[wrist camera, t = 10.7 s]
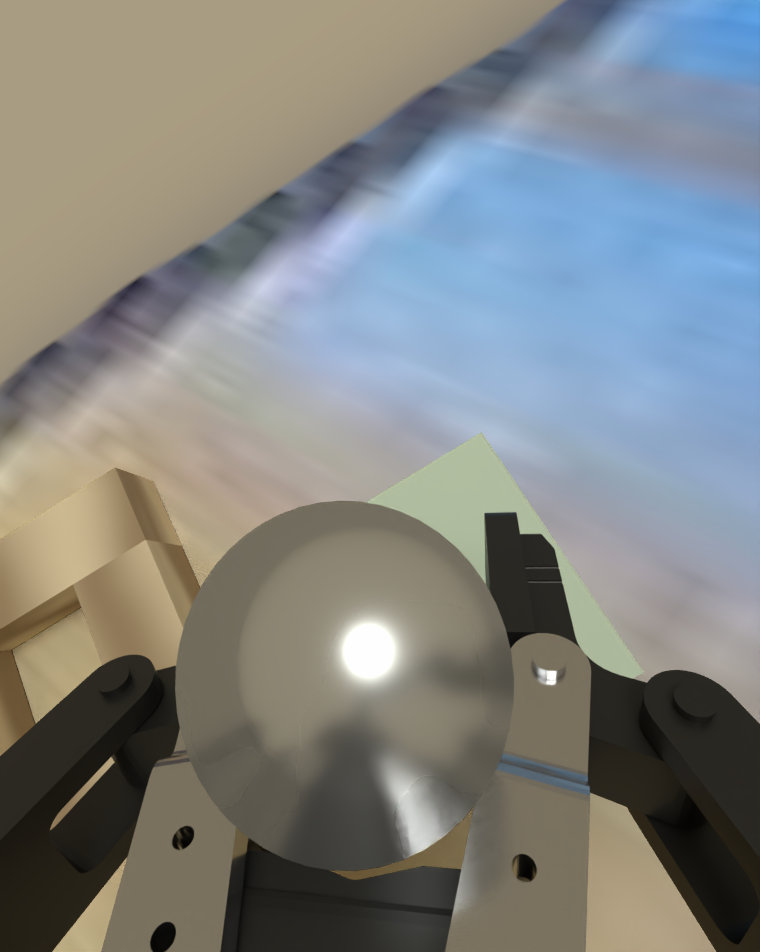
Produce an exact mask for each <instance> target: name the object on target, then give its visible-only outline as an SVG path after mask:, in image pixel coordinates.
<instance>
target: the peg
mask: <svg viewBox="0 0 760 952" xmlns="http://www.w3.org/2000/svg"><path fill="white" fill-rule="evenodd" d="M175 694H176V706H177V715H178V720H179V725H180V730H181V735H182V739H183V742H184V745H185V748H186V751H187V754H188V757H189V760H190V762H191V764H192V766H193V768H194V770H195V772H196V775H197V777H198V779H199V781H200V782H201V784H202V785H203V787H204V789H205V790H206V792H207V793H208V795H209V797H210V798H211V800H212V801H213V802H214V803H215V805H216V806H217V807H218V808H219V810H220V811H221V812H222V813H223V814H224V816H225V817H226V818H227V819H228V820H229V821H230V822H231V823H232V824H233V825H234V826H236V827H237V828H238V829H239V830H240V831H241V832H242V833H243V834H244V835H246V836H247V837H248V838H250V839H251V840H253V841H254V842H256V843H257V844H258V845H260V846H261V847H263V848H264V849H266V850H268V851H270V852H272V853H274V854H276V855H278V856H280V857H282V858H284V859H287V860H290V861H293V862H296V863H299V864H302V865H305V866H308V867H314V868H320V869H326V870H337V871H357V870H364V869H371V868H378V867H382V866H385V865H389V864H392V863H395V862H399V861H402V860H404V859H406V858H408V857H410V856H412V855H415V854H417V853H419V852H421V851H423V850H425V849H426V848H428V847H429V846H431V845H432V844H434V843H435V842H437V841H438V840H439V839H441V838H442V837H444V836H445V835H446V834H447V833H449V832H450V831H451V830H452V829H453V828H454V827H455V826H456V825H457V824H458V823H459V822H460V821H461V820H463V819H464V817H465V816H466V815H467V814H468V812H469V811H470V810H471V809H472V808H473V806H474V805H475V804H476V803H477V801H478V800H479V799H480V797H481V796H482V794H483V792H484V791H485V789H486V787H487V786H488V784H489V782H490V781H491V779H492V777H493V775H494V773H495V771H496V768H497V766H498V763H499V761H500V759H501V756H502V754H503V751H504V748H505V744H506V740H507V737H508V733H509V730H510V724H511V717H512V710H513V703H514V673H513V664H512V655H511V649H510V645H509V641H508V637H507V633H506V629H505V625H504V623H503V620H502V618H501V615H500V612H499V610H498V607H497V605H496V603H495V601H494V599H493V597H492V595H491V593H490V591H489V589H488V588H487V586H486V584H485V582H484V581H483V579H482V578H481V577H480V575H479V574H478V572H477V571H476V569H475V568H474V567H473V565H472V564H471V563H470V562H469V561H468V559H467V558H466V557H465V556H464V555H463V554H462V553H461V552H460V551H459V550H458V549H457V548H456V547H455V546H454V545H453V544H452V543H451V542H449V541H448V540H447V539H446V538H445V537H444V536H442V535H441V534H440V533H439V532H437V531H436V530H434V529H433V528H431V527H429V526H428V525H426V524H425V523H423V522H422V521H420V520H418V519H416V518H413V517H411V516H409V515H407V514H405V513H403V512H401V511H397V510H394V509H391V508H388V507H385V506H381V505H376V504H371V503H365V502H356V501H333V502H322V503H316V504H312V505H307V506H303V507H299V508H296V509H293V510H291V511H288V512H285V513H283V514H280V515H278V516H276V517H274V518H272V519H270V520H268V521H266V522H265V523H263V524H261V525H260V526H258V527H257V528H255V529H254V530H252V531H251V532H249V533H248V534H247V535H245V536H244V537H243V538H242V539H241V540H239V541H238V542H237V543H236V544H235V545H234V546H233V547H232V548H231V549H229V551H228V552H227V553H226V554H225V555H224V556H223V557H222V558H221V560H220V561H219V562H218V563H217V564H216V565H215V567H214V568H213V570H212V571H211V572H210V574H209V575H208V577H207V578H206V580H205V581H204V583H203V584H202V586H201V588H200V590H199V592H198V594H197V596H196V598H195V599H194V601H193V604H192V606H191V609H190V611H189V614H188V616H187V619H186V621H185V624H184V628H183V632H182V636H181V640H180V643H179V649H178V656H177V663H176V679H175Z"/></svg>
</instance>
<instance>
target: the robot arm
mask: <svg viewBox="0 0 760 952" xmlns="http://www.w3.org/2000/svg"><path fill="white" fill-rule="evenodd" d="M484 529H485V576H486V586H487V588H488V589H489V591H490V593H491V595H492V597H493V599H494V601H495V603H496V605H497V607H498V610H499V612H500V615H501V618H502V620H503V623H504V625H505V629H506V633H507V637H508V641H509V645H510V649H511V655H512V664H513V673H514V703H513V710H512V717H511V724H510V730H509V733H508V737H507V740H506V744H505V748H504V751H503V754H502V756H501V759H500V761H499V763H498V766H497V768H496V771H495V773H494V775H493V777H492V779H491V781H490V782H489V784H488V786H487V787H486V789H485V791H484V792H483V794H482V796H481V797H480V799H479V800H478V801H477V803H476V804H475V805H474V809H473V814H472V819H471V824H470V829H469V834H468V839H467V844H466V849H465V854H464V859H463V864H462V869H461V870H460V869H449V868H438V867H427V866H422V867H417V868H412V869H408V870H403V871H398V872H394V873H389V874H384V875H380V876H375V877H371V878H366V879H361V880H351V879H348V878H345V877H343V876H341V875H338V874H336V873H334V872H332V871H329V870H326V869H320V868H314V867H308V866H305V865H302V864H299V863H296V862H293V861H290V860H287V859H284V858H282V857H280V856H278V855H276V854H274V853H272V852H270V851H268V850H266V849H264V848H263V847H261V846H260V845H258V844H257V843H256V842H254V841H253V840H251V839H250V838H248V837H247V836H246V835H244V834H243V833H242V832H241V831H240V830H239V829H238V828H237V827H236V826H234V825H233V824H232V823H231V822H230V821H229V820H228V819H227V818H226V817H225V816H224V814H223V813H222V812H221V811H220V810H219V808H218V807H217V806H216V805H215V803H214V802H213V801H212V800H211V798H210V797H209V795H208V793H207V792H206V790H205V789H204V787H203V785H202V784H201V782H200V781H199V779H198V777H197V775H196V772H195V770H194V768H193V766H192V764H191V762H190V760H189V757H188V754H187V751H186V748H185V745H184V742H183V739H182V735H181V730H180V725H179V720H178V715H177V706H176V694H175V679H176V666H172V667H168V668H164V669H160V670H156V669H155V667H154V665H153V663H152V662H151V661H150V659H148V658H147V657H145V656H142V655H136V654H135V655H125V656H121V657H118V658H116V659H113V660H111V661H109V662H107V663H105V664H104V665H102V666H101V667H99V668H98V669H97V670H95V671H94V672H93V673H92V674H91V675H90V676H89V677H87V678H86V679H85V680H84V681H83V682H82V683H81V684H80V685H79V686H77V687H76V688H75V689H74V690H73V691H72V692H71V693H70V694H69V695H67V696H66V697H65V698H64V699H63V700H62V701H61V702H60V703H59V704H57V705H56V706H55V707H54V708H53V709H52V710H51V711H50V712H49V713H47V714H46V715H45V716H44V717H43V718H42V719H41V720H40V721H39V722H37V723H36V724H35V725H34V726H33V727H32V728H31V729H30V730H29V731H27V732H26V733H25V734H24V735H23V736H22V737H21V738H20V739H19V740H17V741H16V742H15V743H14V744H13V745H12V746H11V747H10V748H9V749H7V750H6V751H5V752H4V753H3V754H2V755H1V756H0V952H52V951H53V950H54V949H55V947H56V946H57V945H58V943H59V942H60V941H61V940H62V938H63V937H64V936H65V935H66V933H67V932H68V931H69V930H70V928H71V927H72V926H73V925H74V923H75V922H76V921H77V919H78V918H79V917H80V916H81V914H82V913H83V912H84V911H85V909H86V908H87V907H88V906H89V904H90V903H91V902H92V901H93V899H94V898H95V897H96V895H97V894H98V893H99V892H100V890H101V889H102V888H103V887H104V885H105V884H106V883H107V882H108V880H109V879H110V878H111V876H112V875H113V874H114V873H115V871H116V870H117V869H118V868H119V866H120V865H121V864H122V863H123V861H124V860H125V859H126V858H127V861H126V864H125V868H124V872H123V875H122V879H121V882H120V886H119V890H118V893H117V897H116V901H115V904H114V908H113V911H112V915H111V919H110V922H109V926H108V929H107V933H106V937H105V940H104V944H103V948H102V951H101V952H585V949H586V916H587V882H588V848H589V814H590V793H593V794H595V795H598V796H600V797H603V798H606V799H608V800H611V801H613V802H616V803H618V804H621V805H623V806H626V807H627V808H628V810H629V812H630V813H631V815H632V817H633V818H634V820H635V822H636V823H637V825H638V826H639V828H640V830H641V831H642V833H643V834H644V836H645V838H646V839H647V841H648V842H649V844H650V846H651V847H652V849H653V850H654V852H655V854H656V855H657V857H658V859H659V860H660V862H661V863H662V865H663V867H664V868H665V870H666V871H667V873H668V875H669V876H670V878H671V879H672V881H673V883H674V884H675V886H676V887H677V889H678V891H679V892H680V894H681V895H682V897H683V899H684V900H685V902H686V904H687V905H688V907H689V908H690V910H691V912H692V913H693V915H694V916H695V918H696V920H697V921H698V923H699V924H700V926H701V928H702V929H703V931H704V932H705V934H706V936H707V937H708V939H709V941H710V942H711V944H712V945H713V947H714V949H715V950H716V952H760V724H759V723H758V722H757V721H756V720H755V719H754V718H753V717H752V716H751V715H750V714H749V712H748V711H747V710H746V709H745V708H744V707H743V706H742V705H741V704H740V703H739V702H738V701H737V700H736V699H735V698H734V697H733V696H732V695H731V694H730V693H729V692H728V691H727V690H726V689H725V688H723V687H722V686H721V685H719V684H718V683H716V682H714V681H713V680H711V679H709V678H707V677H705V676H702V675H700V674H697V673H693V672H689V671H682V670H669V671H664V672H661V673H659V674H656V675H655V676H653V677H652V678H651V679H650V680H649V681H648V682H647V683H646V682H642V681H639V680H635V679H632V678H628V677H625V676H622V675H619V674H616V673H613V672H610V671H608V670H606V669H604V668H602V667H601V666H599V665H597V664H596V663H595V662H593V661H592V660H591V659H590V658H589V657H588V656H587V655H586V654H585V653H584V652H583V651H582V649H581V648H580V646H579V644H578V642H577V640H576V637H575V632H574V628H573V624H572V620H571V616H570V611H569V607H568V603H567V599H566V595H565V591H564V586H563V584H562V578H561V574H560V570H559V565H558V561H557V557H556V553H555V549H554V548H553V546H552V545H551V544H550V543H549V542H548V541H547V540H546V539H545V537H544V536H543V535H542V534H520V530H519V524H518V518H517V513H516V512H498V513H484ZM110 757H111V758H112V759H113V761H114V763H113V764H112V765H111V767H110V768H109V769H108V770H107V771H106V772H105V773H104V774H103V775H102V776H101V777H100V778H99V780H98V781H97V782H96V783H95V784H94V785H93V786H92V787H91V788H90V789H89V790H88V791H87V792H86V794H85V795H84V796H83V797H82V798H81V799H80V800H79V801H78V802H77V803H76V804H75V805H74V807H73V808H72V809H71V810H70V811H69V812H68V813H67V814H66V815H65V816H64V817H63V818H62V820H61V821H60V822H59V823H58V824H57V825H56V826H55V827H54V828H52V829H51V830H50V828H51V825H52V823H53V821H54V819H55V818H56V816H57V815H58V813H59V812H60V811H61V810H62V809H63V808H64V806H65V805H66V804H67V803H68V802H69V801H70V800H71V799H72V798H73V797H74V796H75V795H76V794H77V793H78V792H79V790H80V789H81V788H82V787H83V786H84V785H85V784H86V783H87V782H88V781H89V780H90V779H91V778H92V777H93V776H94V774H95V773H96V772H97V771H98V770H99V769H100V768H101V767H102V766H103V765H104V764H105V763H106V762H107V761H108V760H109V759H110ZM127 856H128V857H127Z"/></svg>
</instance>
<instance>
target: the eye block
mask: <svg viewBox="0 0 760 952" xmlns="http://www.w3.org/2000/svg"><path fill="white" fill-rule="evenodd" d="M199 590H200V586H199V584H198V582H197V580H196V577H195V575H194V573H193V571H192V568H191V566H190V564H189V562H188V559H187V557H186V555H185V553H184V550H183V548H182V546H181V544H180V541H179V539H178V537H177V535H176V532H175V530H174V528H173V526H172V523H171V521H170V519H169V517H168V514H167V512H166V510H165V508H164V505H163V503H162V501H161V499H160V496H159V494H158V492H157V490H156V487H155V485H154V483H153V481H151V480H148V479H146V478H143V477H140V476H137V475H134V474H131V473H129V472H126V471H123V470H120V469H117V468H114V469H112V470H111V471H109V472H107V473H106V474H104V475H103V476H101V477H99V478H98V479H96V480H95V481H93V482H91V483H90V484H88V485H87V486H85V487H83V488H82V489H80V490H79V491H77V492H75V493H74V494H72V495H71V496H69V497H67V498H66V499H64V500H62V501H61V502H59V503H58V504H56V505H54V506H53V507H51V508H50V509H48V510H46V511H45V512H43V513H42V514H40V515H38V516H37V517H35V518H34V519H32V520H30V521H29V522H27V523H25V524H24V525H22V526H21V527H19V528H17V529H16V530H14V531H13V532H11V533H9V534H8V535H6V536H5V537H3V538H1V539H0V756H1V755H2V754H3V753H4V752H5V751H6V750H7V749H9V748H10V747H11V746H12V745H13V744H14V743H15V742H16V741H17V740H19V739H20V738H21V737H22V736H23V735H24V734H25V733H26V732H27V731H29V730H30V729H31V728H32V727H33V726H34V725H35V723H34V720H33V717H32V714H31V710H30V707H29V704H28V701H27V698H26V695H25V692H24V689H23V685H22V682H21V679H20V676H19V673H18V670H17V667H16V664H15V660H14V657H13V654H12V651H11V650H12V649H14V648H15V647H17V646H18V645H20V644H22V643H23V642H25V641H27V640H28V639H30V638H32V637H33V636H35V635H36V634H38V633H40V632H41V631H43V630H45V629H46V628H48V627H50V626H51V625H53V624H54V623H56V622H58V621H59V620H61V619H63V618H64V617H66V616H68V615H69V614H71V613H72V612H74V611H76V610H77V609H79V608H82V610H83V613H84V616H85V619H86V621H87V624H88V627H89V629H90V632H91V635H92V638H93V640H94V643H95V646H96V648H97V651H98V654H99V657H100V659H101V662H102V665H104V664H105V663H107V662H109V661H111V660H113V659H116V658H118V657H121V656H125V655H135V654H136V655H142V656H145V657H147V658H148V659H150V661H151V662H152V663H153V665H154V667H155V669H156V670H160V669H164V668H168V667H172V666H176V663H177V656H178V649H179V643H180V640H181V636H182V632H183V628H184V624H185V621H186V619H187V616H188V614H189V611H190V609H191V606H192V604H193V601H194V599H195V598H196V596H197V594H198V592H199ZM113 763H114V761H113V759H112V758H111V757H110V759H109V760H108V761H107V762H106V763H105V764H104V765H103V766H102V767H101V768H100V769H99V770H98V771H97V772H96V773H95V774H94V776H93V777H92V778H91V779H90V780H89V781H88V782H87V783H86V784H85V785H84V786H83V787H82V788H81V789H80V790H79V792H78V793H77V794H76V795H75V796H74V797H73V798H72V799H71V800H70V801H69V802H68V803H67V804H66V805H65V806H64V808H63V809H62V810H61V811H60V812H59V813H58V815H57V816H56V818H55V819H54V821H53V823H52V825H51V828H50V830H51V829H52V828H54V827H55V826H56V825H57V824H58V823H59V822H60V821H61V820H62V818H63V817H64V816H65V815H66V814H67V813H68V812H69V811H70V810H71V809H72V808H73V807H74V805H75V804H76V803H77V802H78V801H79V800H80V799H81V798H82V797H83V796H84V795H85V794H86V792H87V791H88V790H89V789H90V788H91V787H92V786H93V785H94V784H95V783H96V782H97V781H98V780H99V778H100V777H101V776H102V775H103V774H104V773H105V772H106V771H107V770H108V769H109V768H110V767H111V765H112V764H113Z"/></svg>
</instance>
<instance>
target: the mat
mask: <svg viewBox="0 0 760 952" xmlns="http://www.w3.org/2000/svg"><path fill="white" fill-rule="evenodd" d="M366 503H371V504H376V505H381V506H385V507H388V508H391V509H394V510H397V511H401V512H403V513H405V514H407V515H409V516H411V517H413V518H416V519H418V520H420V521H422V522H423V523H425V524H426V525H428V526H429V527H431V528H433V529H434V530H436V531H437V532H439V533H440V534H441V535H442V536H444V537H445V538H446V539H447V540H448V541H449V542H451V543H452V544H453V545H454V546H455V547H456V548H457V549H458V550H459V551H460V552H461V553H462V554H463V555H464V556H465V557H466V558H467V559H468V561H469V562H470V563H471V564H472V565H473V567H474V568H475V569H476V571H477V572H478V574H479V575H480V577H481V578H482V579H483V581H484V582H485V584H486V576H485V529H484V513H498V512H516V513H517V518H518V524H519V530H520V534H542V535H543V536H544V537H545V539H546V540H547V541H548V542H549V543H550V544H551V545H552V546H553V548H554V549H555V553H556V557H557V561H558V565H559V570H560V574H561V578H562V584H563V586H564V591H565V595H566V599H567V603H568V607H569V611H570V616H571V620H572V624H573V628H574V632H575V637H576V640H577V642H578V644H579V646H580V648H581V649H582V651H583V652H584V653H585V654H586V655H587V656H588V657H589V658H590V659H591V660H592V661H593V662H595V663H596V664H597V665H599V666H601V667H602V668H604V669H606V670H608V671H610V672H613V673H616V674H619V675H622V676H625V677H628V678H632V679H633V678H635V677H637V676H639V675H640V674H642V673H644V672H643V671H642V669H641V668H640V666H639V665H638V663H637V662H636V660H635V659H634V657H633V656H632V654H631V653H630V651H629V650H628V648H627V647H626V645H625V644H624V642H623V641H622V639H621V638H620V637H619V635H618V634H617V632H616V631H615V629H614V628H613V626H612V625H611V623H610V622H609V620H608V619H607V617H606V616H605V614H604V613H603V611H602V610H601V608H600V607H599V605H598V604H597V602H596V601H595V600H594V598H593V597H592V595H591V594H590V592H589V591H588V589H587V588H586V586H585V585H584V583H583V582H582V580H581V579H580V577H579V576H578V574H577V573H576V571H575V570H574V568H573V567H572V565H571V564H570V563H569V561H568V560H567V558H566V557H565V555H564V554H563V552H562V551H561V549H560V548H559V546H558V545H557V543H556V542H555V540H554V539H553V537H552V536H551V534H550V533H549V531H548V530H547V528H546V527H545V526H544V524H543V523H542V521H541V520H540V518H539V517H538V515H537V514H536V512H535V511H534V509H533V508H532V506H531V505H530V503H529V502H528V500H527V499H526V497H525V496H524V494H523V493H522V491H521V490H520V489H519V487H518V486H517V484H516V483H515V481H514V480H513V478H512V477H511V475H510V474H509V472H508V471H507V469H506V468H505V466H504V465H503V463H502V462H501V460H500V459H499V457H498V456H497V454H496V453H495V452H494V450H493V449H492V447H491V446H490V444H489V443H488V441H487V440H486V438H485V437H484V435H483V434H482V432H481V433H480V434H478V435H476V436H475V437H473V438H471V439H470V440H468V441H466V442H465V443H463V444H461V445H460V446H458V447H457V448H455V449H453V450H452V451H450V452H448V453H447V454H445V455H443V456H442V457H440V458H438V459H437V460H435V461H433V462H432V463H430V464H428V465H427V466H425V467H423V468H422V469H420V470H419V471H417V472H415V473H414V474H412V475H410V476H409V477H407V478H405V479H404V480H402V481H400V482H399V483H397V484H395V485H394V486H392V487H390V488H389V489H387V490H385V491H384V492H382V493H381V494H379V495H377V496H376V497H374V498H372V499H371V500H369V501H367V502H366Z"/></svg>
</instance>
